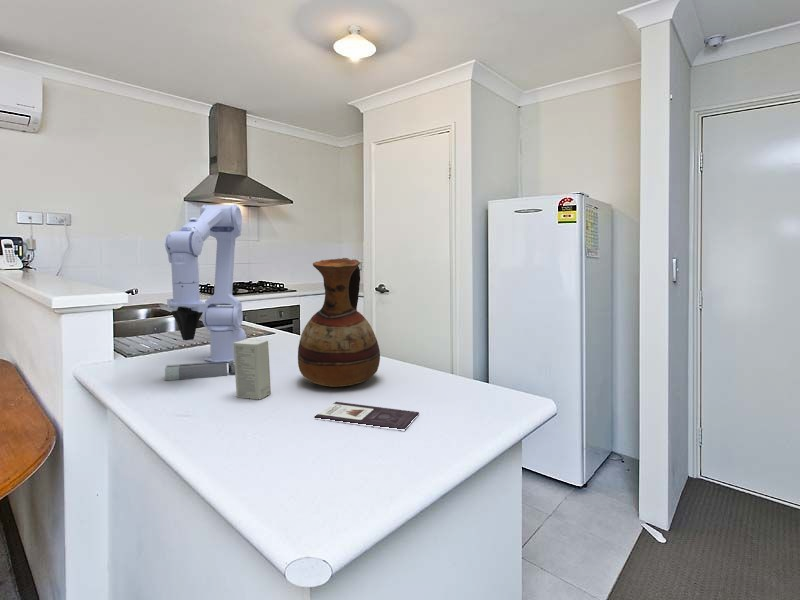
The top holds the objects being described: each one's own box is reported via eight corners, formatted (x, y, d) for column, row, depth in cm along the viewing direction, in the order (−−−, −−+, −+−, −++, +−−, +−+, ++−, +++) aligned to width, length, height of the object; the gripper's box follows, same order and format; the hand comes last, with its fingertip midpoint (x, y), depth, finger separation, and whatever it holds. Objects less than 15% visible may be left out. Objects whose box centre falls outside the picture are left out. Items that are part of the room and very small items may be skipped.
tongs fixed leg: (241, 370, 122) (241, 358, 122) (242, 374, 119) (241, 361, 119) (167, 376, 116) (166, 363, 116) (165, 380, 113) (164, 366, 113)
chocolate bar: (404, 428, 82) (314, 416, 88) (404, 434, 83) (314, 421, 88) (419, 412, 91) (336, 401, 97) (418, 416, 91) (336, 406, 97)
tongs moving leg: (227, 374, 119) (226, 362, 119) (227, 375, 118) (226, 364, 117) (166, 379, 114) (165, 367, 114) (165, 380, 113) (164, 368, 112)
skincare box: (271, 394, 103) (270, 340, 101) (259, 400, 99) (257, 344, 97) (247, 391, 105) (245, 338, 104) (234, 397, 101) (232, 342, 99)
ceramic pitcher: (284, 390, 106) (281, 258, 102) (315, 368, 126) (314, 256, 122) (368, 395, 102) (368, 259, 99) (386, 372, 122) (387, 257, 119)
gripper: (153, 282, 110) (156, 338, 112) (185, 285, 102) (188, 346, 103) (182, 280, 116) (184, 334, 118) (215, 283, 107) (217, 341, 109)
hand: (188, 339), depth 111 cm, fingers closed
